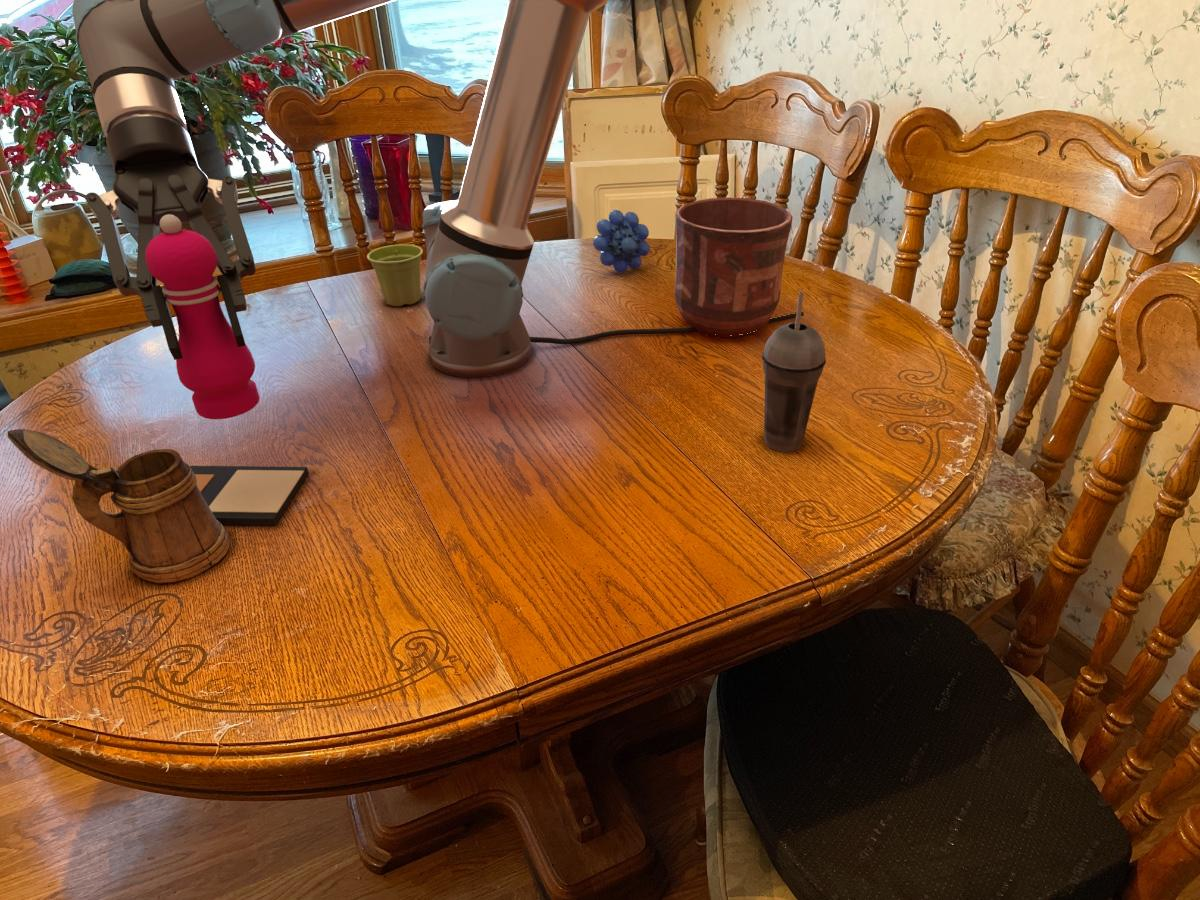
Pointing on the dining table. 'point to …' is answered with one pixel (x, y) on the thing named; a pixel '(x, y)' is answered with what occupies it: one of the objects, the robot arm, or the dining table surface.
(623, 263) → the blue ball flower
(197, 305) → the pepper mill
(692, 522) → the dining table surface
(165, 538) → the wooden mug
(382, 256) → the plant pot
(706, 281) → the pottery
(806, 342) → the beverage cup
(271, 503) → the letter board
